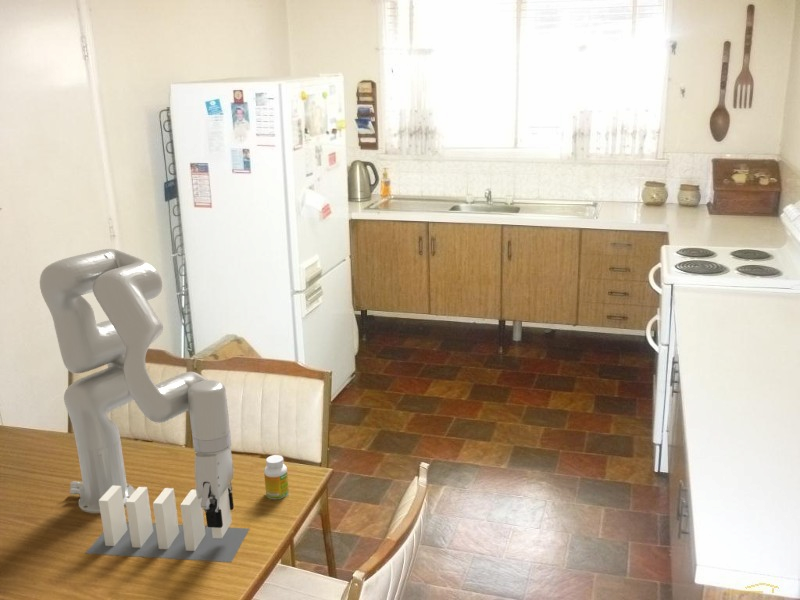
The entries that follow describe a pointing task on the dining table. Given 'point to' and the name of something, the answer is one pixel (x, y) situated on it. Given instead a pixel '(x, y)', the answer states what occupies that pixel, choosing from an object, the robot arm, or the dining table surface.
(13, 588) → the dining table surface
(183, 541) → the mat
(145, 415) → the robot arm
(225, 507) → the domino
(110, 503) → the domino
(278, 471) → the supplement bottle
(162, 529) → the domino
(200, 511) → the domino
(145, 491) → the domino
